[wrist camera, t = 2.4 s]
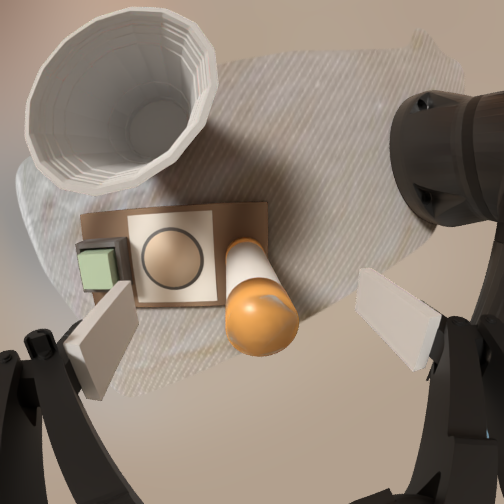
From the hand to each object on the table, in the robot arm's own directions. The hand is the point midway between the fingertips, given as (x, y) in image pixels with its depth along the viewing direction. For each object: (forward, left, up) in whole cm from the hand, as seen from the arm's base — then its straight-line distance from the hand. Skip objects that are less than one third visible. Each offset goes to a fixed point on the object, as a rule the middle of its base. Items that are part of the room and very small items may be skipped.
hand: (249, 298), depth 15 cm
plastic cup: (+7, -11, -10) cm, 17 cm away
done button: (+12, 0, -8) cm, 14 cm away
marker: (0, 0, -9) cm, 9 cm away
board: (+6, 0, -10) cm, 12 cm away
